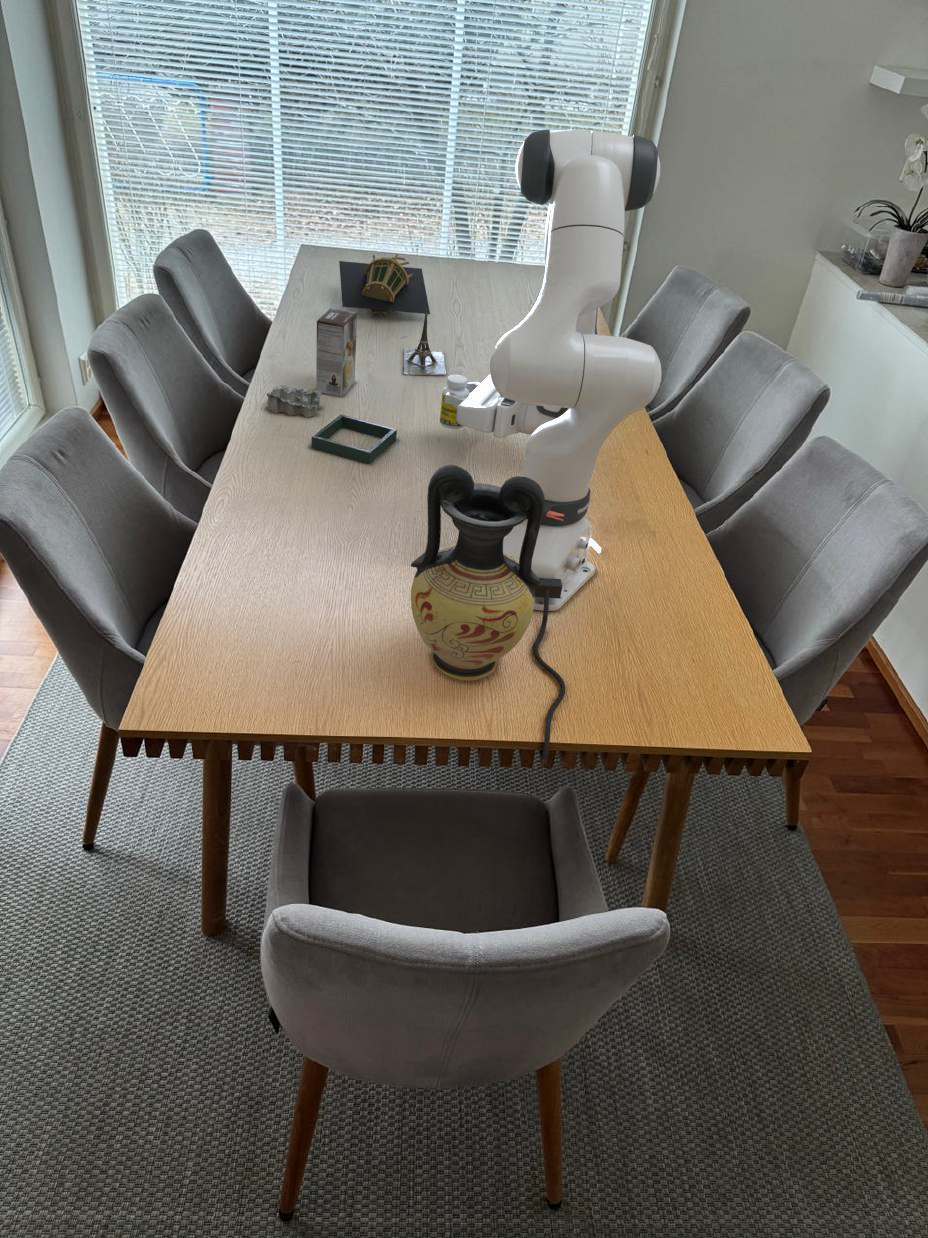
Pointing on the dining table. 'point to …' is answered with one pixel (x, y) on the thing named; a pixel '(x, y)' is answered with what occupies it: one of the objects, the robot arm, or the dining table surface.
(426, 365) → the eiffel tower figurine
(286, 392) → the egg carton
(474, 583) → the amphora
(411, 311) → the lantern
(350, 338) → the coffee box
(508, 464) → the dining table surface
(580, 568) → the robot arm
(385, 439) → the square frame
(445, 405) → the supplement bottle
